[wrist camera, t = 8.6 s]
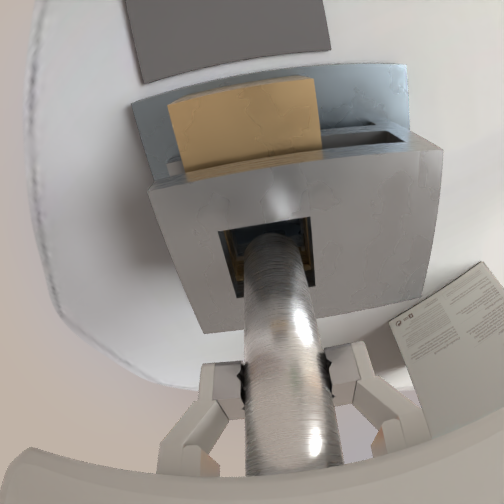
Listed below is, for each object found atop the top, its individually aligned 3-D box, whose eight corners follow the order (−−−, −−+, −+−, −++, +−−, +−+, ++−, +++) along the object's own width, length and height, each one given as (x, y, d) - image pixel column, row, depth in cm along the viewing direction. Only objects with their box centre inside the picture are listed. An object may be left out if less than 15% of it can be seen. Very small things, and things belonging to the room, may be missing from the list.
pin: (238, 238, 16) (236, 556, 4) (296, 228, 16) (362, 543, 4) (249, 281, 18) (256, 551, 6) (301, 273, 17) (349, 541, 6)
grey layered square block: (136, 101, 17) (84, 125, 11) (399, 63, 16) (465, 74, 10) (202, 300, 28) (193, 369, 22) (394, 269, 26) (426, 330, 20)
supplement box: (412, 364, 37) (448, 473, 22) (385, 320, 30) (436, 469, 16) (489, 316, 32) (541, 416, 18) (483, 257, 26) (566, 384, 12)
